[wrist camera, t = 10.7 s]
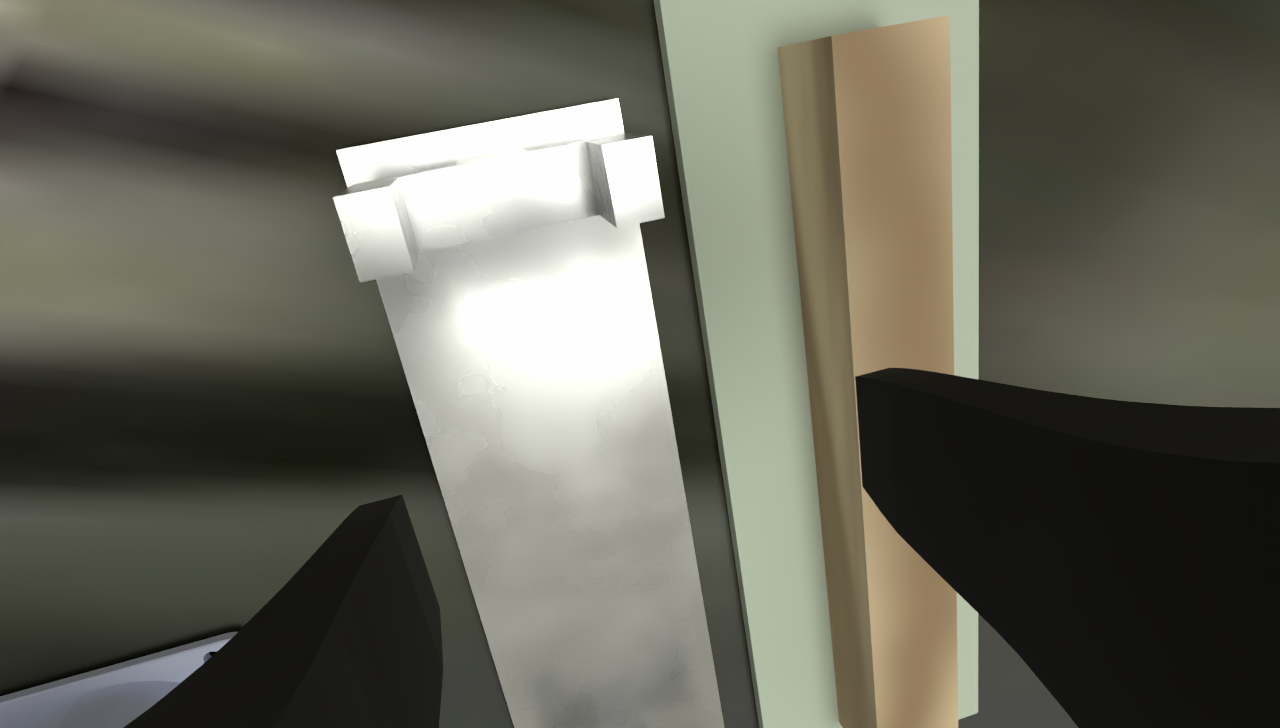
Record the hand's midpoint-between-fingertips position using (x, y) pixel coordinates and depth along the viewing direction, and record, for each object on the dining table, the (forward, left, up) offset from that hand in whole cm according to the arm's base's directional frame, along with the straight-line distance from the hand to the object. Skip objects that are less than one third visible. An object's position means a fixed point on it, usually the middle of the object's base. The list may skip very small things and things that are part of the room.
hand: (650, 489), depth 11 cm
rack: (-1, -6, -10) cm, 12 cm away
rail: (+8, -6, -10) cm, 14 cm away
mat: (+8, -6, -10) cm, 15 cm away
